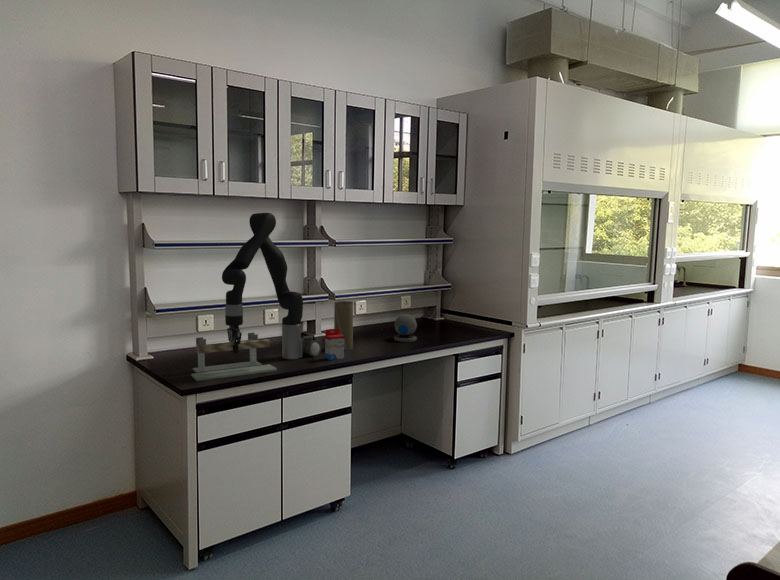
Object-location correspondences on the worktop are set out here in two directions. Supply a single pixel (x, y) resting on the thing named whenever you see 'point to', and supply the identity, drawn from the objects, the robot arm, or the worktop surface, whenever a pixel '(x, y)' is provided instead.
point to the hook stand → (202, 367)
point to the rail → (229, 346)
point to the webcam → (405, 328)
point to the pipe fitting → (310, 346)
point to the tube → (344, 321)
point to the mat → (233, 372)
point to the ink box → (334, 345)
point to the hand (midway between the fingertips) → (234, 352)
